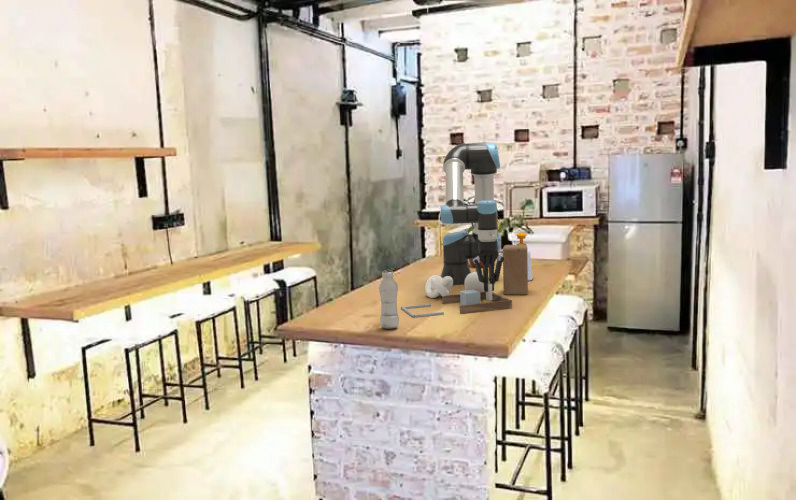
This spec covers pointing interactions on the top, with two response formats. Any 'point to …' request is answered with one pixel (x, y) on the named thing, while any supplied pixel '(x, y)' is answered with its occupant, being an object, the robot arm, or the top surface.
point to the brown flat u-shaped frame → (497, 305)
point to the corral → (420, 314)
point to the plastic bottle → (388, 301)
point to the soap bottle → (521, 237)
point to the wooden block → (515, 270)
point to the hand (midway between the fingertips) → (489, 299)
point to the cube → (469, 297)
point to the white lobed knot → (438, 286)
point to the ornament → (473, 282)
